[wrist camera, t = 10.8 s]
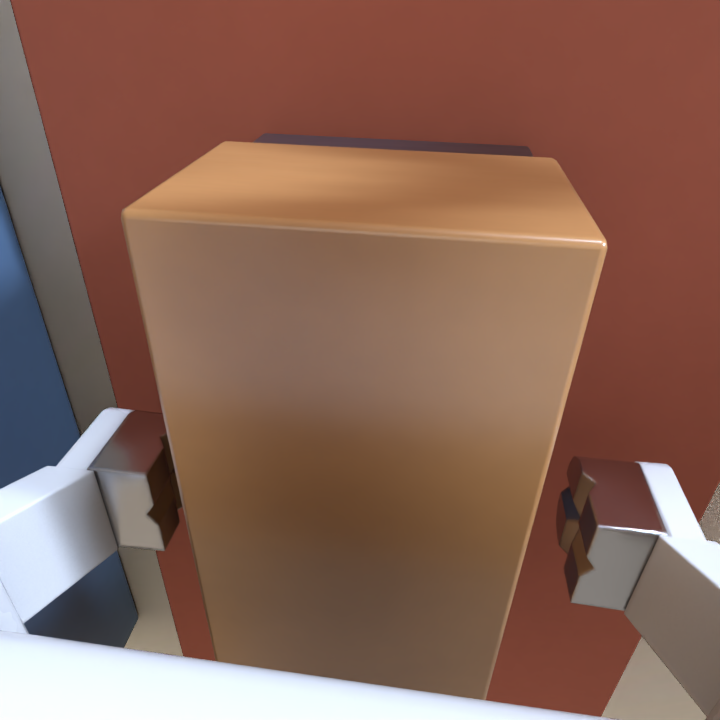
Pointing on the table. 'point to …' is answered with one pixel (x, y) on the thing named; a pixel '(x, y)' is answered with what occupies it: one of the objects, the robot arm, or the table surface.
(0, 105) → the table surface
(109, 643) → the rectangular frame
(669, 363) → the mat
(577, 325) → the brown rectangular block
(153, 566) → the table surface
